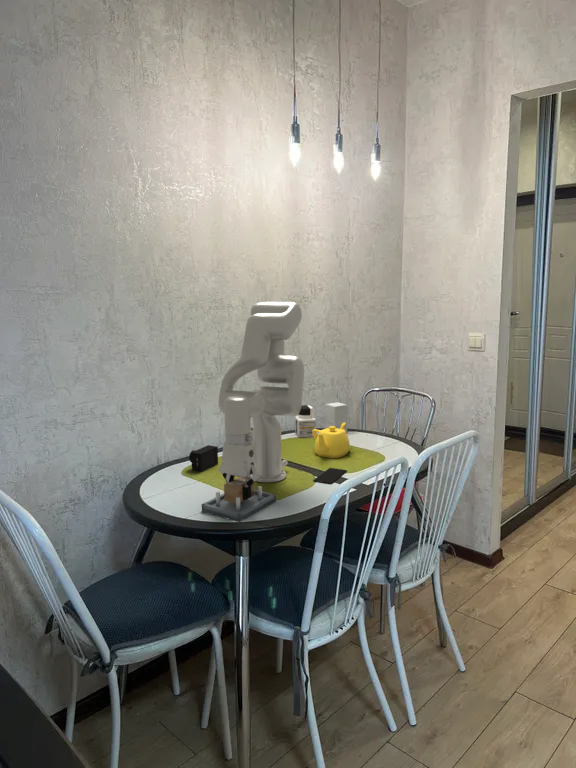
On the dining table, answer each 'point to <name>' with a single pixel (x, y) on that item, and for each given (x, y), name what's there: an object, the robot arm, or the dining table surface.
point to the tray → (238, 505)
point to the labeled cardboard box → (235, 490)
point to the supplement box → (336, 415)
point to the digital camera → (204, 458)
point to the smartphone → (330, 476)
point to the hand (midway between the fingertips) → (239, 496)
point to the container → (305, 422)
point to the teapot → (331, 442)
